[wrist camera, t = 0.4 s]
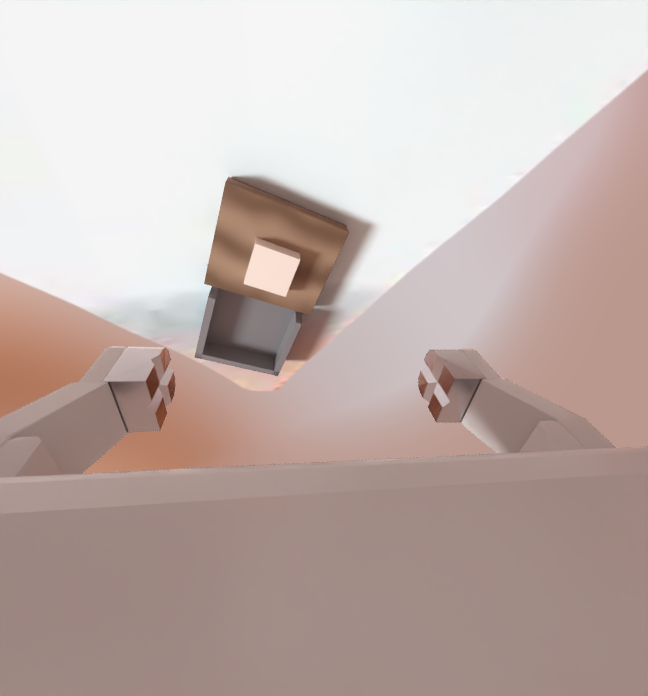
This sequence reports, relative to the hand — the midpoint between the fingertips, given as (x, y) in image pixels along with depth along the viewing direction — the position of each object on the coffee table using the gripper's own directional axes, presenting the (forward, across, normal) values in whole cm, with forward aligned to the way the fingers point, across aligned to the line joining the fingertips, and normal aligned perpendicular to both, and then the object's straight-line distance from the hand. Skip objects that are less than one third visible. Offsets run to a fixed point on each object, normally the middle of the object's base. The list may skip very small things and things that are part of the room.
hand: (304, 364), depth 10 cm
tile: (+35, +2, +9) cm, 36 cm away
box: (+39, +5, +22) cm, 45 cm away
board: (+37, +1, +8) cm, 38 cm away
